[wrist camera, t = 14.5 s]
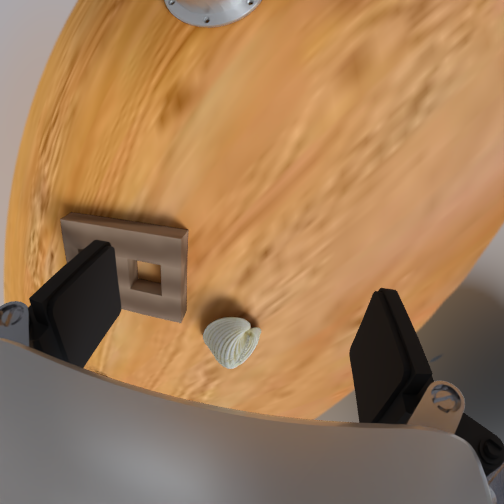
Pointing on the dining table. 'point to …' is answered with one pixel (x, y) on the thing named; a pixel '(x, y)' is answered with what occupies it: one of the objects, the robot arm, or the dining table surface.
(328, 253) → the dining table surface
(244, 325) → the seashell
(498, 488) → the robot arm
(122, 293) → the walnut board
